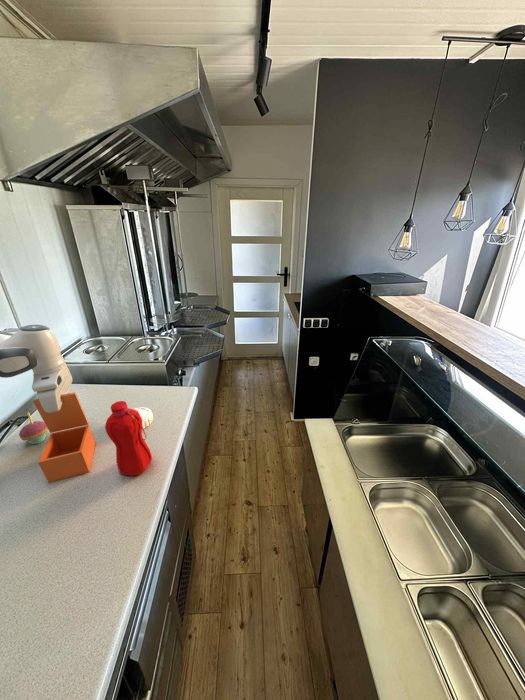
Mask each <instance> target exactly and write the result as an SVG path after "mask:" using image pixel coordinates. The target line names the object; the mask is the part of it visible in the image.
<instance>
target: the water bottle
mask: <svg viewBox="0 0 525 700" xmlns="http://www.w3.org/2000/svg"><path fill="white" fill-rule="evenodd" d="M110 411H111V414H110V415H109V416H108V417H107V419H106V421H105V425H104V428H105V433H106V434H107V436H108V438H109V439H110V440H111V442H112V443H113V444H114V445H115V452H116V453H115V460H116V461H115V462H116V465H117V469H118V471H119V473H120V474H122V475H124V476H125V475H126V476H131V477H133V476H139V475H141V474H143V473H144V472H145V471H146V470H147V469H148V467H149V465H150V464H151V462H152V458H153V454H152V452H151V449H150V447H149V446H148V444H147V442H146V440H147V434H146V432H145V428H144V429H143V427H142V418H141V416H140V414H139V413H138V411H136V410H134V408H130V407H128V404H127V402H126V401H125V400H119V401H115V402H114V403H112V404H111V405H110ZM143 434H144V437H143Z"/></svg>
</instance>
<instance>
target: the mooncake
mask: <svg viewBox="0 0 525 700" xmlns="http://www.w3.org/2000/svg"><path fill="white" fill-rule="evenodd" d="M133 409H134V410H136V411H138V413H139V414H140V416H141V418H142V427H143V429H144V430H145V428H148V427H149V425H151V424H152V422H153V421H154V415H153V412H152V409H150V408H149V407H146V406H138V407H134V408H133Z"/></svg>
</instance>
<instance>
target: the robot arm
mask: <svg viewBox="0 0 525 700" xmlns="http://www.w3.org/2000/svg"><path fill="white" fill-rule="evenodd" d="M31 370H32V373H33V377H32V378H33V379H32V380H33V381H32V385H31V389H32V391H33V392H34V393H36V396H37V399H39V401H40V403H41V405H42V407H43V409H44V411H45V412H47V413H51V412H56V411H59V410H60V408H61V406H62V404H63V400H62V398H61V395H63V394H68V392H69V391H70V388H71V386H72V383H73V376H72V374H71V373H72V372H70V369H69V367H68V366H67V362H66V360H65V358H64V357H63V355H62V353H61V346H60V344H59V341H58V338H57V337H56V334H55V333H54V331H53V330H52V328H50V327H48V326H47V325H44V324H28V325H23V326H20V327H19V328H18V330H17V331H16V332H15V333H11V332H4V331H0V378H3V379H4V378H6V379H7V378H13V377H16V376H19V375H22V374H23V373H27V372H29V371H31Z"/></svg>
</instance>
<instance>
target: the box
mask: <svg viewBox="0 0 525 700" xmlns="http://www.w3.org/2000/svg"><path fill="white" fill-rule="evenodd" d="M96 445H97V443H96V440H95V438H94V435H93V432H92V428H91V427H90V424H88V425H84V426H80V427H75V428H71V429H66V430H62V431H57V432H52V433H50V434H49V437H48V439H47V442H46V443H45V446H44V449H43V451H42V453H41V455H40V457H39V459H38V462H37V463H38V465H39V467H40V469H41V471H42V473H43V476H44V477H45V479H46V481H47V483H52V482H56V481H60V480H64V479H67V478H72V477H76V476H80V475H82V474H83V475H84V474H87V473H90V471H91V467H92V462H93V457H94V453H95V449H96ZM75 450H78V451H77V452H73V453H69V454H65V455H62V453H67V452H71V451H75Z"/></svg>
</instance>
